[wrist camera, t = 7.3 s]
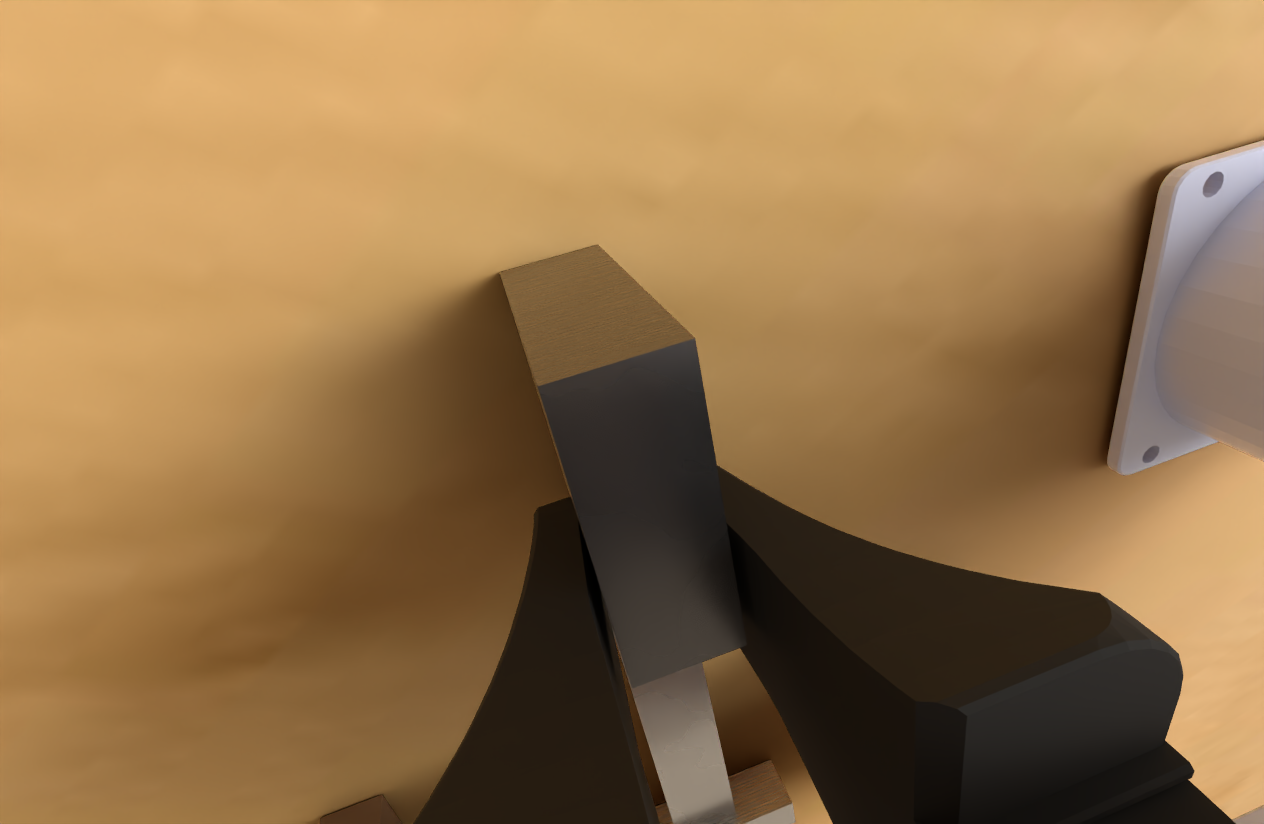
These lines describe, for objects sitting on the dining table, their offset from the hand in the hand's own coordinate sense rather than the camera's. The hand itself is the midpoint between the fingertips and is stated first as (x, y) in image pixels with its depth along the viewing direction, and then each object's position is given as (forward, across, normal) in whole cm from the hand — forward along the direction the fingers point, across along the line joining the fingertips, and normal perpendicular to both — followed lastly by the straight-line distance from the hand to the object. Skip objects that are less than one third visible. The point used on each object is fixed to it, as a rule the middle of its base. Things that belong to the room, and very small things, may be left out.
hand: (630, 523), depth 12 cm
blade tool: (+2, 0, +4) cm, 5 cm away
